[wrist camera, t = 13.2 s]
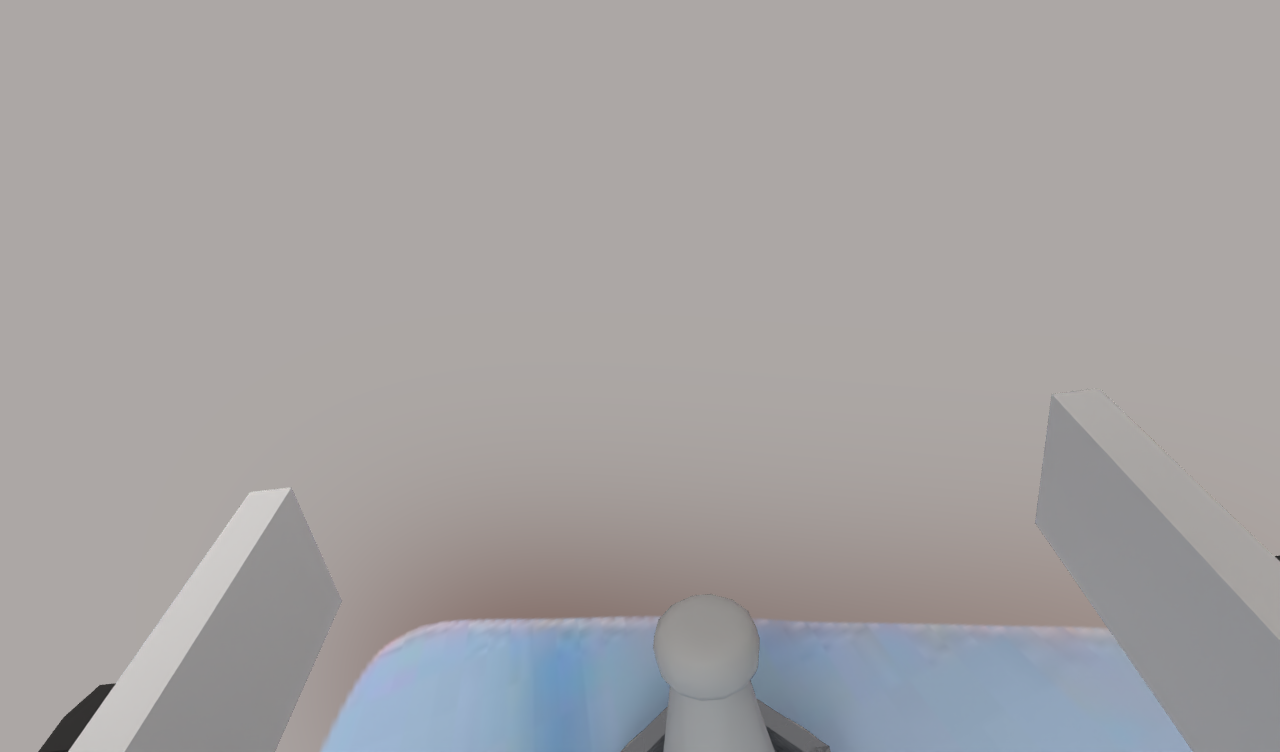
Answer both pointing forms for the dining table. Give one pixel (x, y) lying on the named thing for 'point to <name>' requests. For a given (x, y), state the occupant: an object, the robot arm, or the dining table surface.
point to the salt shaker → (710, 677)
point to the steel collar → (789, 739)
